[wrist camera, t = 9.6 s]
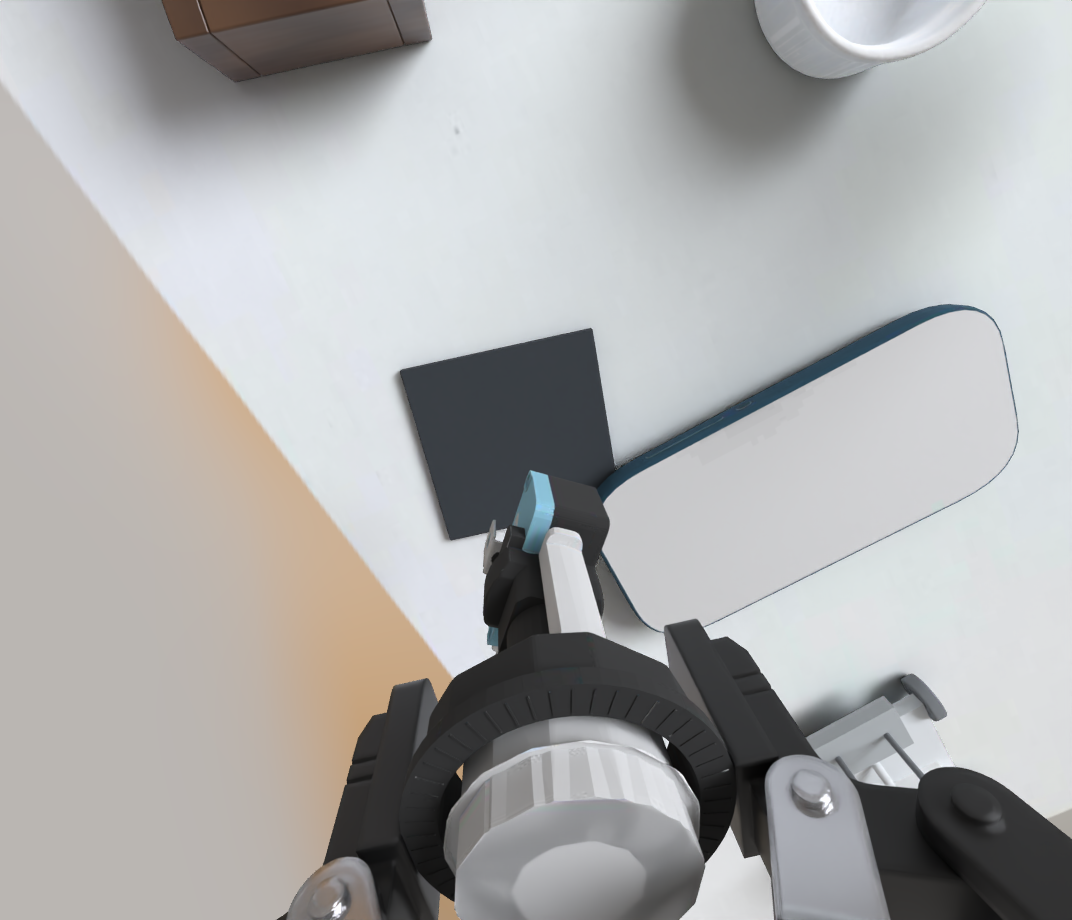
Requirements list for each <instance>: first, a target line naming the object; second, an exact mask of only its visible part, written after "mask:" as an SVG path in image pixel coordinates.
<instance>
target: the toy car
mask: <svg viewBox="0 0 1072 920" xmlns="http://www.w3.org/2000/svg"><path fill="white" fill-rule="evenodd" d="M901 682H902V684H903V686H904V688H905V689H906V691H907V692H908V694H909V695H908V696H907V697H905V698H903V699H901V700H899V701H897V702H895V703H894V704H891V703H890V702H889V701H888V700H887V699H886V698H885V697H884V695H883V696H882V697H880V698H878V699H876V700H874V701H872V702H870V703H869V704H867V705H865V706H863V707H861V708H859V709H857V710H856V711H854V712H852V713H850V714H848V715H846V716H845V717H843V718H841V719H839V720H837V721H835V722H833V723H832V724H830V725H828V726H826V727H824V728H822V729H820V730H819V731H817V732H815V733H813V734H811V735H809V736H808V737H806V739H807V741H808V742H809V744H810V745H811V747H812V748H813V750H814V751H815V752H816V753H817V755H818V756H819V757H820V758H821V759H822V760H824V761H827V762H829V763H830V764H832V765H834V766H835V767H837V768H838V769H839V770H841V771H842V772H843V773H844V774H845V775H846V776H847V777H849V778H852V779H854V780H857V781H860V782H864V783H868V784H875V785H884V786H894V787H905V788H916V789H918V784H919V782H920V779H921V778H922V777H923V776H924V774H926V773H927V772H929V771H930V770H933V769H936V768H941V767H956V766H955V764H954V762H953V760H952V758H951V756H950V755H949V753H948V751H947V749H946V747H945V745H944V743H943V741H942V739H941V737H940V735H939V733H938V731H937V730H936V728H935V726H934V724H933V722H932V720H934V721H939V720H941V719H943V718H945V717H946V716H947V712H946V710H945V708H944V707H943V705H942V704H941V702H940V701H939V699H938V698H937V697H936V696H935V694H934V693H933V692H932V691H931V690H930V689H929V687H928V686H927V685H926V684H925V683H924V682H923V681H922V680H921V679H919V678H918V677H917V676H916V675H914V674H909V675H907V676H905V677H904V678H902V679H901ZM931 719H932V720H931Z"/></svg>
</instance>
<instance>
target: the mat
mask: <svg viewBox="0 0 1072 920" xmlns="http://www.w3.org/2000/svg"><path fill="white" fill-rule="evenodd" d="M400 373H401V377H402V380H403V383H404V387H405V390H406V393H407V397H408V400H409V403H410V407H411V410H412V413H413V417H414V420H415V423H416V427H417V430H418V433H419V437H420V440H421V443H422V447H423V450H424V453H425V457H426V460H427V464H428V467H429V470H430V474H431V477H432V480H433V484H434V487H435V490H436V494H437V497H438V500H439V504H440V507H441V510H442V514H443V517H444V520H445V524H446V527H447V530H448V534H449V537H450V540H455V539H460V538H464V537H469V536H473V535H478V534H482V533H487V532H489V530H490V527H491V524H492V521H493V520H496V530H500V529H505V528H508V526H509V525H512V524H513V521H514V518H515V515H516V512H517V509H518V506H519V503H520V500H521V497H522V494H523V491H524V484H525V481H526V478H527V475H528V473H529V471H530V470H531V471H535V472H538V473H542V474H546V475H550V476H554V477H558V478H562V479H565V480H569V481H573V482H577V483H580V484H584V485H588V486H591V487H595V488H596V489H598V487H599V486H600V485H601V484H602V483H603V482H604V481H605V480H606V479H607V478H608V477H609V476H610V475H611V474H613V473H614V472H615V466H614V460H613V454H612V447H611V441H610V435H609V429H608V423H607V416H606V410H605V404H604V398H603V392H602V386H601V379H600V373H599V367H598V361H597V355H596V348H595V342H594V336H593V330H592V329H591V328H589V329H584V330H580V331H575V332H570V333H566V334H561V335H557V336H552V337H548V338H543V339H539V340H534V341H529V342H525V343H520V344H516V345H511V346H507V347H502V348H498V349H493V350H488V351H484V352H479V353H475V354H470V355H466V356H461V357H457V358H452V359H448V360H443V361H438V362H434V363H429V364H425V365H420V366H416V367H411V368H407V369H402V370H401V371H400Z"/></svg>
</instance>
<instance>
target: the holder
mask: <svg viewBox="0 0 1072 920" xmlns="http://www.w3.org/2000/svg"><path fill="white" fill-rule="evenodd" d="M161 1H162V3H163V6H164V9H165V11H166V14H167V17H168V20H169V22H170V25H171V28H172V30H173V33H174V36H175V39H176V40H177V41H178V42H180V43H181V44H182V45H184V46H185V47H187V48H188V49H189V50H191V51H192V52H193V53H195V54H196V55H198V56H199V57H200V58H202V59H203V60H205V61H206V62H207V63H209V64H210V65H211V66H213V67H214V68H216V69H217V70H218V71H220V72H221V73H223V74H224V75H225V76H227V77H228V78H230V79H231V80H232V81H234V82H238V81H242V80H247V79H252V78H256V77H260V76H261V75H262V76H265V75H270V74H274V73H279V72H284V71H288V70H293V69H298V68H302V67H307V66H311V65H316V64H321V63H325V62H330V61H335V60H339V59H344V58H349V57H353V56H358V55H362V54H367V53H372V52H376V51H381V50H386V49H390V48H395V47H400V46H403V45H404V44H405V45H410V44H415V43H420V42H424V41H429V40H432V35H431V31H430V27H429V22H428V18H427V13H426V9H425V4H424V0H161Z"/></svg>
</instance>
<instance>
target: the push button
mask: <svg viewBox="0 0 1072 920" xmlns="http://www.w3.org/2000/svg"><path fill="white" fill-rule="evenodd" d="M609 528H610V519H609V517H608V515H607V512H606V510H605V508H604V505H603V503H602V501H601V499H600V496H599V494H598V492H597V489H596V488H595V487H591V486H588V485H584V484H580V483H577V482H573V481H569V480H565V479H562V478H558V477H554V476H550V475H546V474H542V473H538V472H535V471H531V470H530V471H529V473H528V475H527V478H526V481H525V484H524V491H523V494H522V497H521V500H520V503H519V506H518V509H517V512H516V515H515V518H514V521H513V524H512V525H509V526H508V528H507V531H506V534H505V537H504V540H503V542H500V541H497V540H495V537H496V520H493V521H492V524H491V527H490V530H489V533H488V537H487V540H486V543H485V548H484V560H483V567H484V569H483V573H484V574H487V575H486V579H485V584H484V606H483V616H484V622H485V623H486V624H487V625H488V626H489V631H488V634H487V645H492V650H493V651H496V655H494V656H492V657H491V658H489V659H487V660H485V661H483V662H481V663H479V664H477V665H476V666H474V667H472V668H470V669H468V670H466V671H464V672H462V673H461V674H459V675H457V676H456V677H455V678H454V679H453V680H452V681H451V683H450V684H449V686H448V687H447V689H446V691H445V692H444V694H443V695H442V697H441V699H440V700H439V702H438V704H437V705H436V707H435V708H434V710H433V712H432V713H431V715H430V718H429V724H428V730H427V735H426V737H425V738H424V739H423V741H422V742H421V744H420V745H419V747H418V749H417V750H416V752H415V754H414V756H413V758H412V760H411V763H410V765H409V767H408V771H407V774H406V778H405V782H404V787H403V793H402V798H401V805H400V813H399V817H400V831H401V834H402V837H403V839H404V841H405V844H406V846H407V848H408V851H409V853H410V855H411V857H412V860H413V862H414V864H415V867H416V869H417V870H418V872H419V873H420V874H421V875H422V877H423V878H424V879H425V880H426V881H427V882H428V883H429V884H430V885H431V886H433V887H434V888H435V889H436V890H437V891H438V892H440V893H441V894H443V895H444V896H446V897H447V898H449V899H450V900H452V901H454V902H455V911H456V912H457V916H458V917H459V918H460V919H461V920H679V919H680V918H681V917H682V916H683V915H684V914H685V913H686V912H687V911H688V910H689V909H690V908H691V907H692V906H693V905H694V904H695V902H696V898H697V895H698V891H699V888H700V884H701V880H702V877H703V873H704V870H705V863H706V862H707V861H708V860H709V858H710V857H711V856H712V855H713V853H714V852H715V851H716V850H717V848H718V846H719V845H720V843H721V842H722V840H723V839H724V837H725V835H726V833H727V831H728V829H729V826H730V824H731V821H732V818H733V815H734V810H735V805H736V796H737V789H736V778H735V772H734V768H733V764H732V762H731V759H730V757H729V755H728V752H727V750H726V748H725V746H724V744H723V742H722V739H721V737H720V735H719V733H718V732H717V730H716V728H715V727H714V725H713V723H712V722H711V721H710V720H709V718H708V717H707V716H706V715H705V713H704V712H703V711H702V710H701V709H700V708H699V707H698V706H696V705H695V704H694V703H693V702H692V701H691V700H689V699H688V697H687V696H686V694H685V692H684V691H683V689H682V688H681V686H680V685H679V683H678V682H677V680H676V678H675V677H674V675H673V674H672V672H671V671H670V669H669V668H668V667H667V666H666V665H665V664H663V663H661V662H659V661H656V660H654V659H652V658H650V657H647V656H645V655H643V654H640V653H638V652H636V651H633V650H631V649H629V648H626V647H624V646H622V645H619V644H617V643H615V642H612V641H610V640H608V639H607V638H606V635H605V631H604V628H603V624H602V621H601V618H602V614H603V608H604V599H603V594H602V590H601V586H600V583H599V580H598V576H597V573H596V570H595V565H596V563H597V560H598V558H599V555H600V553H601V550H602V548H603V545H604V543H605V540H606V538H607V535H608V532H609ZM662 736H663V737H664V738H666V739H667V740H668V741H669V744H668V747H667V749H666V746H665V744H664V741H663V738H662ZM463 763H464V764H463ZM462 764H463V779H462V780H461V779H460V778H459V776H458V775H457V773H456V771H457V770H458V768H459V767H460V766H461V765H462Z"/></svg>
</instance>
